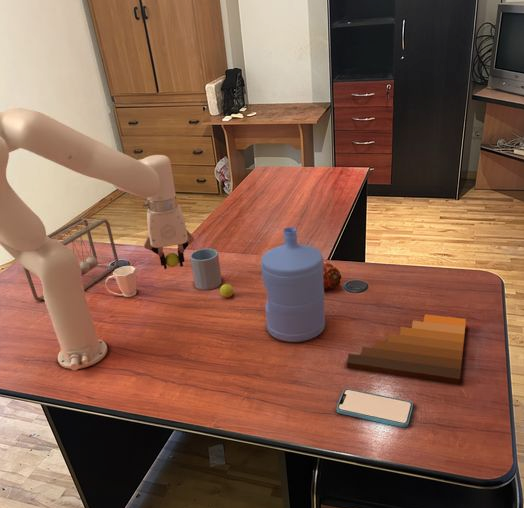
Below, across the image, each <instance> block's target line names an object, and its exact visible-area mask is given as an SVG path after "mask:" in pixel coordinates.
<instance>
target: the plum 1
mask: <svg viewBox="0 0 524 508" xmlns="http://www.w3.org/2000/svg"><path fill="white" fill-rule="evenodd" d="M165 260H166V265H167V267H169V268H175V267H177V266H178V265H180V263H179V257H178V253H175V252H169V253H167V254H166V255H165Z"/></svg>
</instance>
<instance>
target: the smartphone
mask: <svg viewBox="0 0 524 508" xmlns="http://www.w3.org/2000/svg"><path fill="white" fill-rule="evenodd" d="M413 407H414V404H413V402H412V401H410V400H407V399H402V398H398V397H397V398H396V397H392V396H387V395H383V394H378V393H377V394H376V393H372V392H367V391H363V390H357V389H352V388H344V389H343V391H342V393H341V396H340V398H339V401H338V402H337V405H336V412H337V413H338V414H341V415H346V416H349V417H355V418H360V419H363V420H369V421H372V422H376V423H382V424H386V425H391V426H396V427H400V428H406V427H408V426H409V423H410V419H411V416H412V412H413Z"/></svg>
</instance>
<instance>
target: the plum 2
mask: <svg viewBox="0 0 524 508" xmlns="http://www.w3.org/2000/svg"><path fill="white" fill-rule="evenodd" d="M219 294H220V295H221V296H222V297H223V298H231V296H232V295H234V287H233V286H232V285H231V284H229V283H225V284H222V285H221V286H220V288H219Z"/></svg>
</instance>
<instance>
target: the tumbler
mask: <svg viewBox="0 0 524 508" xmlns="http://www.w3.org/2000/svg"><path fill="white" fill-rule="evenodd" d="M189 261H190V266H191V272H192V278H193V284H194V288H196V289H198V290H205V291H206V290H213V289H215V288H218V287H220V286H221V285H222V282H223V279H222V278H223V277H222V272H221V271H222V270H221V263H220V257H219V252H218V250H217V249H214V248H199V249H197V250H194V251H193V252H191V253H190V254H189Z"/></svg>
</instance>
